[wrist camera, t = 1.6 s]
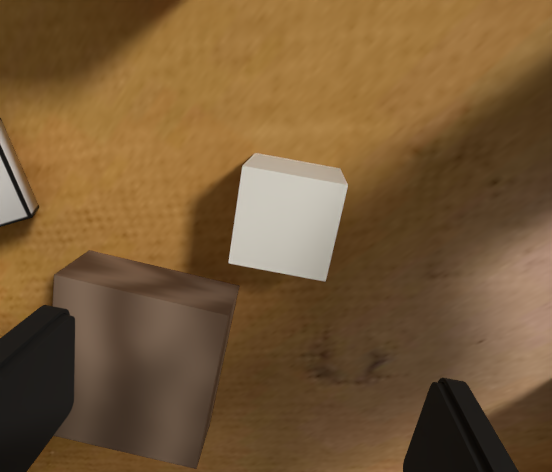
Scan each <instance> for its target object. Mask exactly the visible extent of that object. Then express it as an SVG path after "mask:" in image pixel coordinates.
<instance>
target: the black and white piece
mask: <svg viewBox="0 0 552 472" xmlns="http://www.w3.org/2000/svg"><path fill="white" fill-rule="evenodd" d="M38 208H39V205H38V203H37V201H36V198H35V196H34V194H33V192H32V189H31V187H30V185H29V182H28V180H27V178H26V175H25V173H24V171H23V168H22V166H21V164H20V162H19V159H18V157H17V155H16V152H15V150H14V148H13V145H12V143H11V141H10V138H9V136H8V134H7V132H6V129H5V127H4V125H3V122H2V120H1V118H0V227H1V226H5V225H8V224H11V223H15V222H18V221H21V220H25V219H28V218H31V217H33V215H34V214H35V212H36V211H37V209H38Z"/></svg>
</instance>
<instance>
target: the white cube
mask: <svg viewBox="0 0 552 472" xmlns="http://www.w3.org/2000/svg"><path fill="white" fill-rule="evenodd" d="M347 188H348V184H347V182H346V180H345V178H344V176H343V173H342V171H341V169H340V168H335V167H329V166H324V165H319V164H313V163H308V162H302V161H297V160H291V159H286V158H281V157H275V156H270V155H264V154H259V153H255V154H254V155H253V156H252V157H251V158H250V159H249V160H248V161H247V162H246V163H245V164H244V165H243V166H242V172H241V179H240V186H239V193H238V200H237V207H236V213H235V220H234V227H233V234H232V241H231V248H230V255H229V262H228V263H230V264H235V265H240V266H245V267H251V268H256V269H261V270H267V271H272V272H277V273H283V274H288V275H293V276H298V277H304V278H309V279H314V280H320V281H325V282H326V278H327V274H328V269H329V265H330V261H331V257H332V252H333V248H334V244H335V239H336V235H337V231H338V227H339V222H340V218H341V214H342V209H343V205H344V201H345V197H346V192H347Z"/></svg>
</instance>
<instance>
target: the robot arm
mask: <svg viewBox="0 0 552 472" xmlns="http://www.w3.org/2000/svg"><path fill="white" fill-rule="evenodd" d="M74 374H75V318H74V316H71V315H70V313H69V310H67V309H64V308H59V307H53V306H48V305H43V306H41V307H40V308H39V309H37V310H36V311H35V312H34V313H32V314H31V315H30V316H28V317H27V318H26V319H25V320H23V321H22V322H21V323H19V324H18V325H17V326H16V327H14V328H13V329H12V330H11V331H9V332H8V333H7V334H5V335H4V336H3V337H2V338H0V472H27V470H28V469H29V468H30V466H31V465H32V464H33V462H34V461H35V459H36V458H37V457H38V455H39V454H40V453H41V451H42V450H43V449H44V447H45V446H46V445H47V443H48V442H49V441H50V439H51V438H52V437H53V435H54V434H55V433H56V431H57V430H58V429H59V427H60V426H61V425H62V423H63V422H64V421H65V419H66V418H67V417H68V415H69V413H70V412H71V410H72V407H73V403H74ZM403 472H519V471H518V470H517V468H516V466H515V465H514V463H513V461H512V460H511V458H510V456H509V454H508V453H507V451H506V449H505V448H504V446H503V444H502V443H501V441H500V439H499V437H498V436H497V434H496V432H495V431H494V429H493V427H492V426H491V424H490V422H489V420H488V419H487V417H486V415H485V414H484V412H483V410H482V408H481V407H480V405H479V403H478V402H477V400H476V398H475V397H474V395H473V393H472V391H471V390H470V388H469V386H468V385H467V384H466V382H463V381H458V380H452V379H447V378H440V380H439V381H438V383H437V382H433V383H432V384H431V386H430V388H429V391H428V394H427V397H426V400H425V403H424V405H423V408H422V411H421V414H420V417H419V420H418V422H417V425H416V428H415V431H414V434H413V437H412V439H411V442H410V445H409V448H408V451H407V454H406V456H405V459H404V463H403Z"/></svg>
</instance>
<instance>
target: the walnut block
mask: <svg viewBox="0 0 552 472" xmlns="http://www.w3.org/2000/svg"><path fill="white" fill-rule="evenodd" d="M238 290H239V286H238V285H234V284H230V283H226V282H221V281H217V280H213V279H209V278H204V277H200V276H196V275H192V274H187V273H183V272H179V271H175V270H170V269H166V268H162V267H158V266H154V265H149V264H145V263H141V262H137V261H132V260H128V259H124V258H120V257H115V256H111V255H107V254H103V253H98V252H94V251H90V250H89V251H88V252H86V253H85V254H83V255H82V256H80V257H79V258H78V259H76V260H75V261H73V262H72V263H70V264H69V265H67V266H66V267H65V268H63V269H62V270H60V271H59V272H57V273H56V274H55V275H54V289H53V307H59V308H64V309H67V310H69V313H70V315H71V316H74V318H75V374H74V403H73V407H72V410H71V412H70V413H69V415H68V417H67V418H66V419H65V421H64V422H63V423H62V425H61V426H60V427H59V429H58V430H57V431H56V433H55V434H54V435H53V436H57V437H62V438H66V439H70V440H74V441H79V442H83V443H87V444H92V445H96V446H100V447H104V448H109V449H113V450H117V451H122V452H126V453H130V454H134V455H139V456H143V457H147V458H152V459H156V460H160V461H164V462H169V463H173V464H177V465H182V466H186V467H190V468H194V469H197V465H198V462H199V459H200V455H201V452H202V449H203V445H204V442H205V438H206V435H207V432H208V428H209V425H210V421H211V416H212V411H213V407H214V402H215V397H216V393H217V388H218V383H219V379H220V374H221V369H222V365H223V360H224V355H225V351H226V346H227V341H228V337H229V332H230V327H231V323H232V318H233V313H234V309H235V304H236V299H237V295H238Z"/></svg>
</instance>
